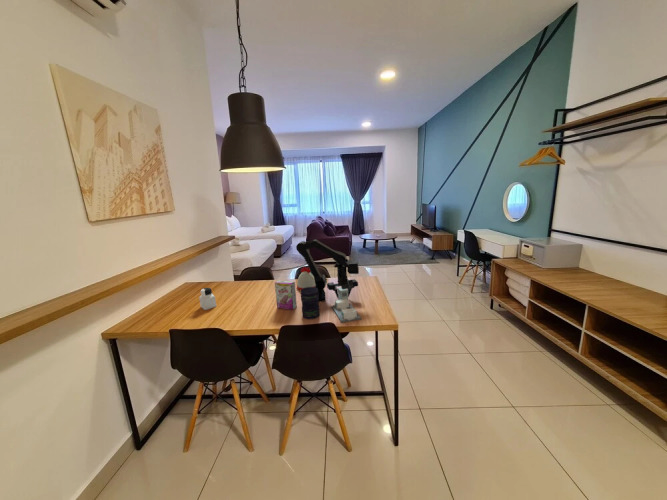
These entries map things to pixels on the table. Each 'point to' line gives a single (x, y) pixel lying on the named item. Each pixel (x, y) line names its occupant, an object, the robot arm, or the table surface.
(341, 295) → the block
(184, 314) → the table surface
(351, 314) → the board
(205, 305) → the medicine bottle
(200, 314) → the table surface
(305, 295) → the storage jar
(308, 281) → the kitchen timer
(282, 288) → the candy bar box
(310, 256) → the robot arm
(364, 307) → the table surface
